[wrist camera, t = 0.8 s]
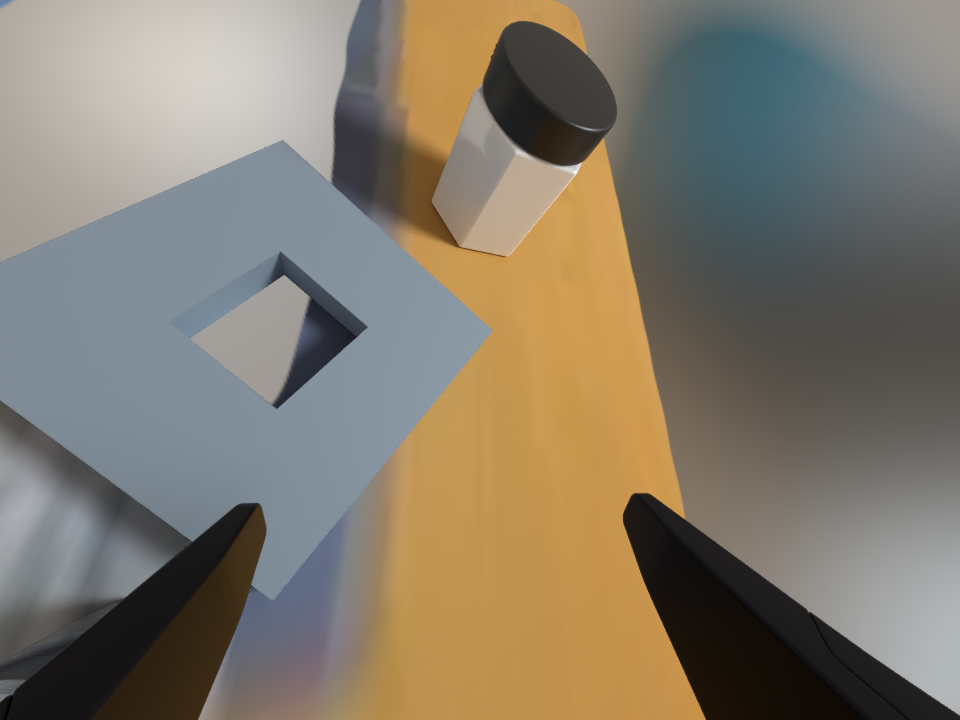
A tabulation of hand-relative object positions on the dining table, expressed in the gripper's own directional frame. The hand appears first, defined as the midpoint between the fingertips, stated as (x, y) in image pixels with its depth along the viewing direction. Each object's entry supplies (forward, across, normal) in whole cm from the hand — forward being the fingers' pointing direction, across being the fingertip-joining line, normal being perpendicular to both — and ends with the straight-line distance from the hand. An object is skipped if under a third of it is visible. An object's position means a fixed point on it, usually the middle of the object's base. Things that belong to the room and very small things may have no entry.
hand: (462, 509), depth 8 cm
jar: (+27, -4, -5) cm, 27 cm away
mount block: (+14, +9, +2) cm, 17 cm away
